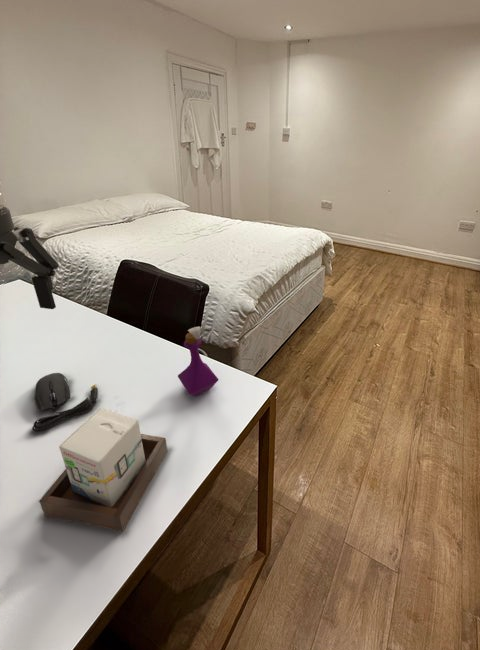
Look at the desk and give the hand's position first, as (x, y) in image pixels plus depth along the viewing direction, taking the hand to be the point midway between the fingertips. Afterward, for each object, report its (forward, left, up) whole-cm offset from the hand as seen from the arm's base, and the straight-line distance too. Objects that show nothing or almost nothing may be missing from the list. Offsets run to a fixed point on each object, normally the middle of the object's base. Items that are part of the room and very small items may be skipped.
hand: (14, 327), depth 56 cm
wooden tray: (+18, -6, -27) cm, 33 cm away
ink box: (+18, -6, -26) cm, 32 cm away
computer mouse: (-5, +10, -27) cm, 29 cm away
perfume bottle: (+24, +18, -27) cm, 40 cm away
